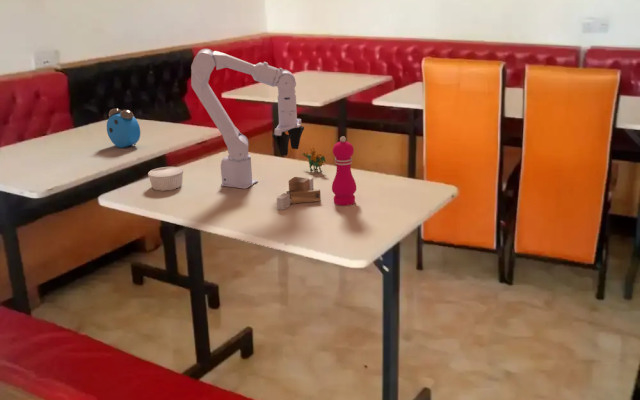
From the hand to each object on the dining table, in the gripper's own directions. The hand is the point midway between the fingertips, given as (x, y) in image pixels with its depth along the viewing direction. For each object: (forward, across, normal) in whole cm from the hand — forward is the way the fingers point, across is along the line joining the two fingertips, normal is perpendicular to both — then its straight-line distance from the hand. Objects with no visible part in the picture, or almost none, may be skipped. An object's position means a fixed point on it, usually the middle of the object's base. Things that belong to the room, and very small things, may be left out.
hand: (289, 151), depth 216 cm
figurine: (+10, +13, -2) cm, 17 cm away
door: (+10, -16, -13) cm, 23 cm away
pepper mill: (+10, -12, -24) cm, 29 cm away
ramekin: (+10, -18, +36) cm, 42 cm away
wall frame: (+10, -13, -9) cm, 19 cm away
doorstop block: (+10, -14, -10) cm, 20 cm away
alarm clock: (+10, +17, +83) cm, 85 cm away
